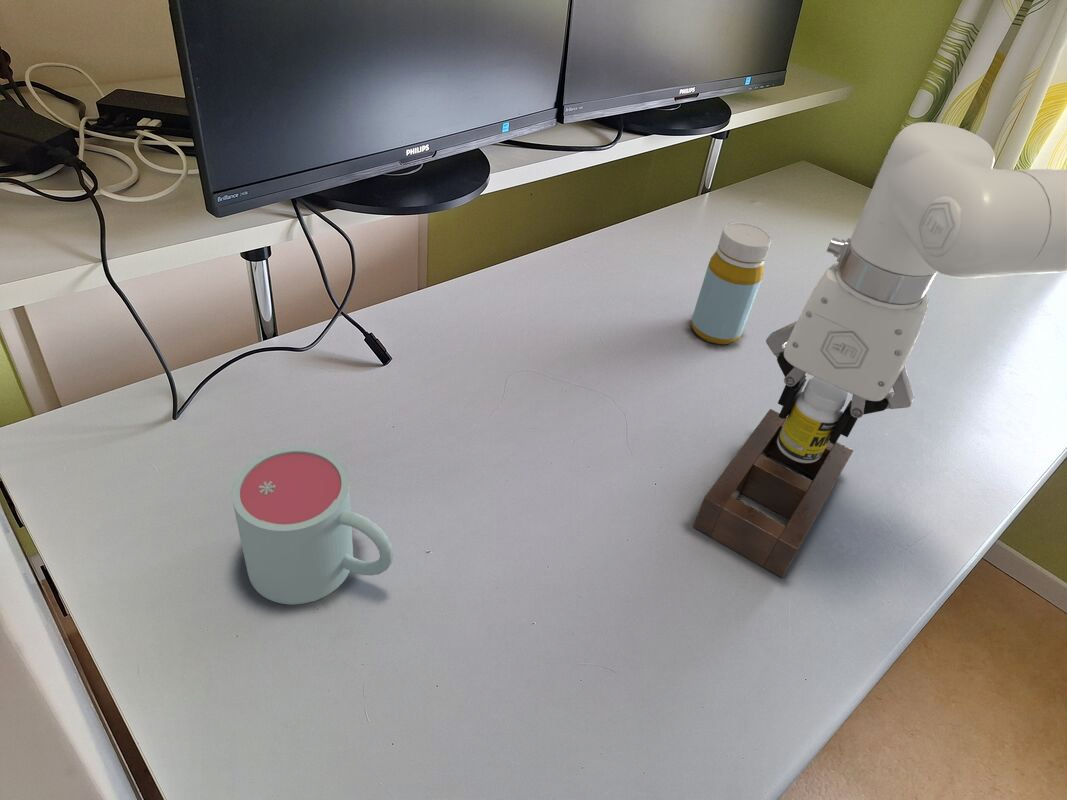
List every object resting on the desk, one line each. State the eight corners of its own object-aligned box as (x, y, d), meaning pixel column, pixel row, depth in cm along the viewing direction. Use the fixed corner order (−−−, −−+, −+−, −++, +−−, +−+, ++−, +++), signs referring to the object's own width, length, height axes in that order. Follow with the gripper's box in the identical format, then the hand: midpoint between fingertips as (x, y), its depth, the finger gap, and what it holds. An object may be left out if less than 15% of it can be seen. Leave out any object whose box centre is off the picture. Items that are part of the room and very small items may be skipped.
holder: (838, 478, 85) (853, 449, 82) (782, 578, 74) (798, 549, 71) (757, 437, 89) (770, 408, 86) (692, 526, 77) (704, 497, 75)
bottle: (712, 310, 108) (743, 215, 98) (750, 336, 105) (786, 240, 95) (679, 325, 105) (708, 228, 95) (717, 352, 101) (752, 254, 91)
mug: (225, 582, 66) (206, 507, 60) (286, 508, 73) (275, 433, 67) (366, 638, 64) (363, 566, 57) (415, 556, 71) (417, 484, 64)
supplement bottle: (803, 471, 78) (834, 410, 73) (767, 443, 81) (794, 383, 75) (829, 453, 81) (861, 393, 75) (793, 427, 83) (821, 367, 78)
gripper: (778, 250, 67) (721, 404, 79) (976, 330, 61) (881, 485, 73) (807, 222, 72) (749, 371, 84) (992, 293, 66) (901, 443, 78)
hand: (811, 422), depth 78 cm, fingers closed on supplement bottle, 4 cm apart
